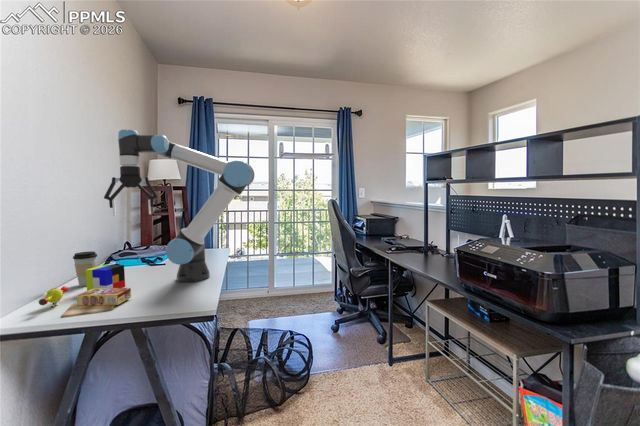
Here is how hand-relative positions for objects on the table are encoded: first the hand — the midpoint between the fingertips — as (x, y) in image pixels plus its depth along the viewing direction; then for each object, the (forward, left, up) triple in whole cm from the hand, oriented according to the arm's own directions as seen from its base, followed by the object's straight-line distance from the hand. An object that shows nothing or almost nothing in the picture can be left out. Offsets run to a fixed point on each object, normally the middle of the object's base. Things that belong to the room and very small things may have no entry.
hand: (132, 214), depth 143 cm
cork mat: (+12, +22, -33) cm, 41 cm away
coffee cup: (+22, -18, -33) cm, 43 cm away
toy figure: (+26, +13, -33) cm, 44 cm away
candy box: (+2, +21, -30) cm, 37 cm away
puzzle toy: (+12, -4, -33) cm, 35 cm away
